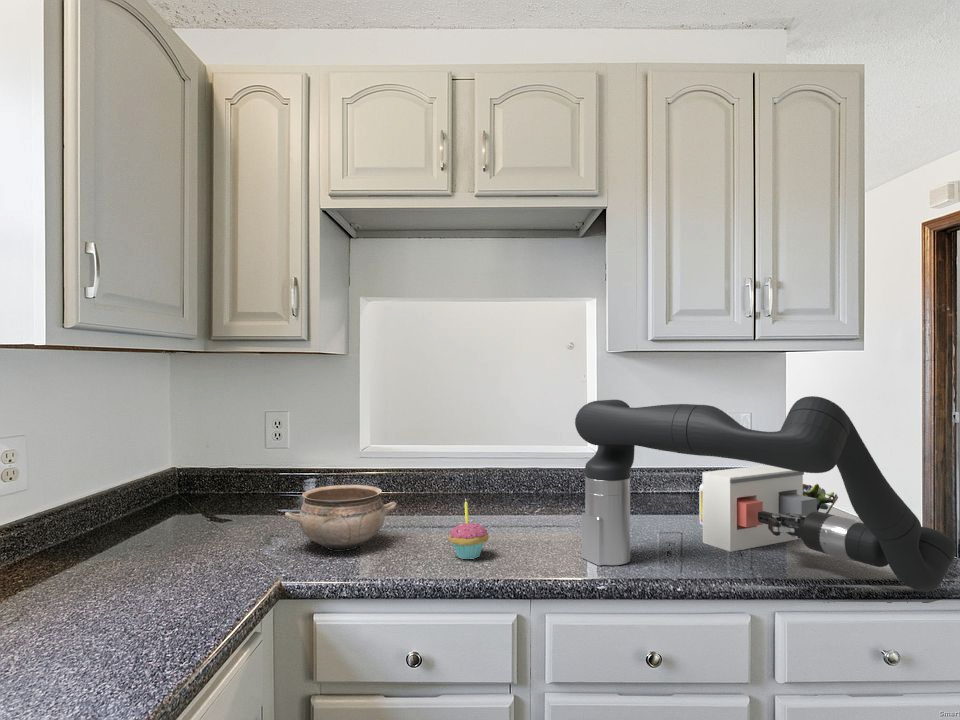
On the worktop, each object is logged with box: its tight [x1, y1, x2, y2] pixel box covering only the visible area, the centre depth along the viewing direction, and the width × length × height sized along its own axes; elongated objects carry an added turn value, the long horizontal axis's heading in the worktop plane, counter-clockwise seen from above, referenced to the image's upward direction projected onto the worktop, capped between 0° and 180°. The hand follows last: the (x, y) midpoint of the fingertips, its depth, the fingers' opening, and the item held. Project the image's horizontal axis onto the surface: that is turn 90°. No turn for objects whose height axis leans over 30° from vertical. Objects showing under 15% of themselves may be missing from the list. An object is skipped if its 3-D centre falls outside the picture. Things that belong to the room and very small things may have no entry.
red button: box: [737, 497, 763, 527], centre depth 146 cm, size 5×6×5 cm
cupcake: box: [448, 498, 490, 559], centre depth 141 cm, size 9×8×12 cm
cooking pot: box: [284, 484, 397, 551], centre depth 149 cm, size 25×19×12 cm
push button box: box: [701, 464, 805, 553], centre depth 151 cm, size 23×8×16 cm, turn 116°
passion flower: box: [803, 483, 839, 514], centre depth 163 cm, size 13×12×14 cm
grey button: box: [779, 494, 817, 515], centre depth 148 cm, size 5×6×5 cm
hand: (760, 516), depth 142 cm, fingers closed
